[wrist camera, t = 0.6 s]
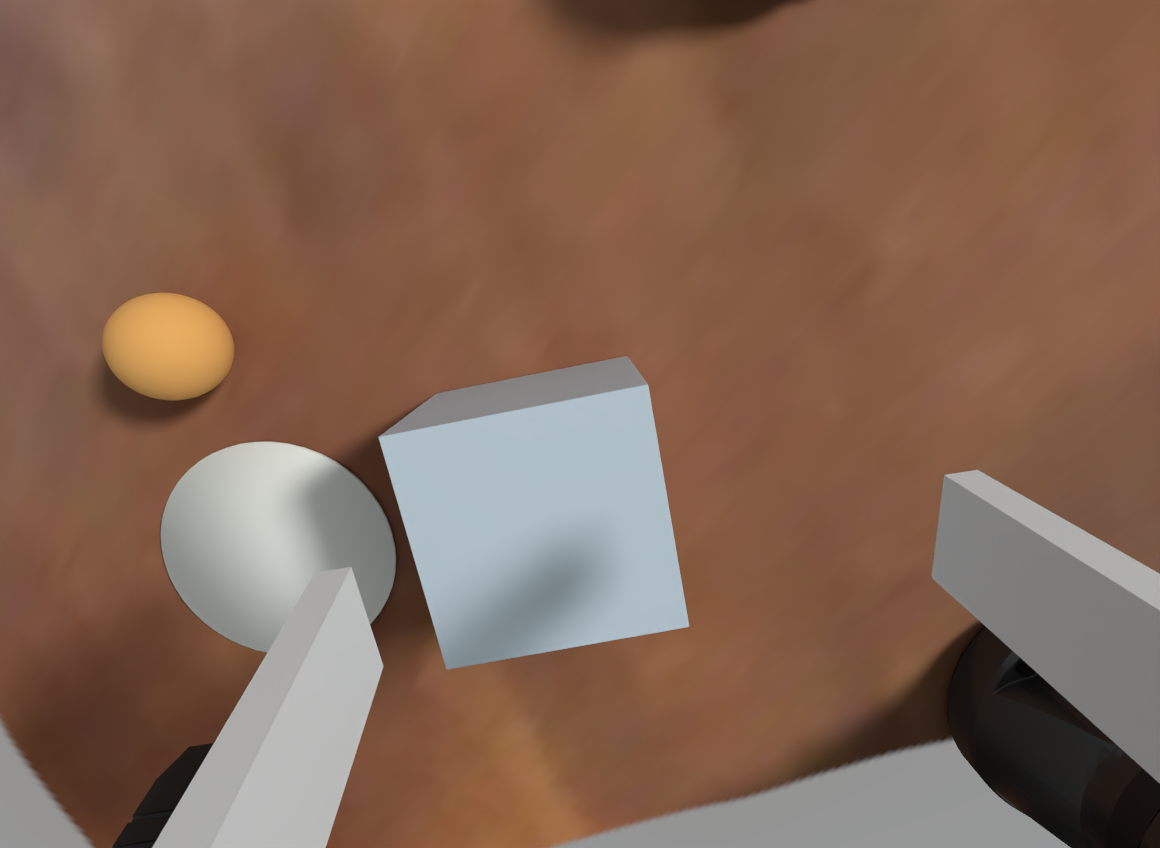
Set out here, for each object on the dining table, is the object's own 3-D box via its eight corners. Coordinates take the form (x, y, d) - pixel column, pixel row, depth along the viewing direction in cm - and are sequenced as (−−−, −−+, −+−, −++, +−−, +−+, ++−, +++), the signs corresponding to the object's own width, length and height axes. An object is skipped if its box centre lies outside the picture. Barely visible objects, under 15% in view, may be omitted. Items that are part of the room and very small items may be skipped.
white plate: (422, 632, 33) (421, 634, 33) (210, 670, 33) (208, 672, 33) (358, 420, 30) (357, 421, 30) (127, 465, 30) (124, 467, 30)
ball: (268, 379, 29) (206, 398, 24) (177, 398, 29) (98, 420, 25) (236, 283, 28) (164, 282, 23) (141, 303, 28) (51, 306, 23)
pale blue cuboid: (658, 534, 31) (689, 626, 23) (481, 566, 32) (446, 669, 23) (627, 355, 29) (647, 384, 20) (436, 393, 29) (378, 437, 21)
